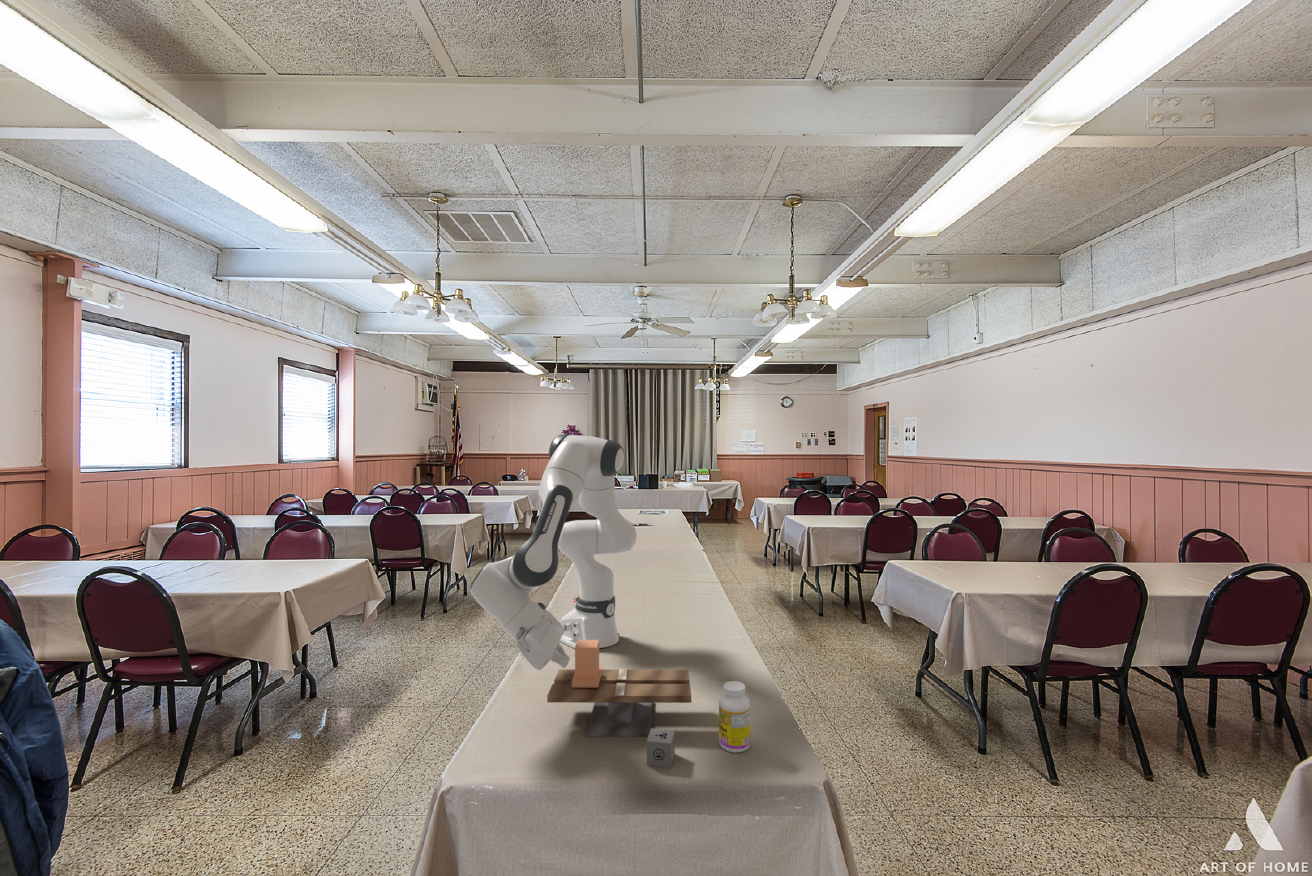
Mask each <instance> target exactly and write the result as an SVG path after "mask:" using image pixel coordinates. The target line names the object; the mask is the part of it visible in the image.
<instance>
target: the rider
mask: <svg viewBox="0 0 1312 876" xmlns="http://www.w3.org/2000/svg"><path fill="white" fill-rule="evenodd" d="M574 670H575V674H574V677H573V679H572V687H599V683H600V679H601V675H602V670H603V666H600V648H599V640H578V642H577V644H576V646H575V648H574Z"/></svg>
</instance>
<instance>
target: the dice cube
mask: <svg viewBox="0 0 1312 876" xmlns="http://www.w3.org/2000/svg"><path fill="white" fill-rule="evenodd" d="M675 735H676V731H675V730H674V729H664V728H663V729H662V728H652V727H651V730H650V733H649V736H648V737H647V739H646V766H647V765H648V766H647V767H657V768H665V769H666V768H667V769H668V768H669V769H672V766H673V763H674V759H675V755H676V750H675V749H676V746H675V744H676V743H675V742H676V741H675V740H676V738H675V737H676V736H675Z"/></svg>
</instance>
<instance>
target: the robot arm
mask: <svg viewBox="0 0 1312 876" xmlns="http://www.w3.org/2000/svg"><path fill="white" fill-rule="evenodd" d="M624 452H625V451H624V448H623V447H622V445H621V444H620V442H617V441H615V440H613V439H609V440H608V439H605V438H601V437H596V436H593V435H592V436H591V435H580V434H579V435H577V434H570V433H563V434H558V435H557V436H555V437H554V438H553V439H552V441H551V442H550V445H549V450H548V458H549V460H548V463H547V465H546V467H545V469H544V471H543V474H542V477H541V480H540V484H539V488H538V492H537V494H538V498H539V500H540V502H541V503H542V507H541V510H540V513H539V516H538V519H537V521H536V524H535V526H534V528H533V532H532V534H531V536H530V537H529V538H528V540H526V541H525V542H524V543H522V545H521V546H520V547H519V548H518V549H517V550H516V552H515V554H514V555H512V556H510V557H507V558H505V559H502V560H498V561H494V562H487V563H486V564H484V565H483V566H482V568H480V570H479V571H478V572H477V574H476V575H475V577H474V578H473V580H472V581H471V582H470V587H469V588H470V593H471V596H472V597H473V598H474V600H475V601H476V603H478V604H479V606H480V607H481V608H482V609H483V610H484V611H485V612H486V613H487V614H488V615H489V616H491V617H493V618H495V620H496V621H498V624H499V625H500V627H501V628H502V629H503V630H504V632H506V633H507V634H508V635H509V636H510V637H511V638H512V639H513V640H514V641H515V642H516V643H517V648H518V651H519V653H521V655H522V656H523V657H524V658H525V659H526V661H527V662H528V663H529V664H530V665H531V666H532V667H533V669H535V670H537V671H541V670H542V669H543V668H544V667H546V666H547V664H548V663H549V662H550V661H552V662H554V663H556V664H558V665H559V666H560V667H561V668H563V669H566V667H567V666H568V664H569V662H570V659H571V657H570V656H569V655H568V654H567V653H566V651H565V648H564V647H563V646H562V645H561V644H560V643H562V644H563V645H566V646H568V647H571V648H573V649H575V646H576V644H577V642H578V640H599V649H601V648H602V649H603V648H608V647H612V646H614V645H616V644H617V643H618V642H619V641H620V637H619V634H618V629H617V628H618V627H617V624H616V615H615V611H616V596H615V594H614V593H615V591H614V590H615V589H614V587H615V585H614V584H615V579H614V578H615V577H614V571H612V569H611V568H610V567H608V566H607V565H605V564H603V563H600V562H598V561H597V560H596V559H595V557H594V556H596V555H611V554H612V555H613V554H614V555H615V554H620V553H625V552H629V551H631V550H632V549H633V548H634V546H635V544H636V541H637V531H636V527H635V526H634V524H633V523H632V522H631V521H629V520H628V519H626V518H625V517H624V516H623V515H622V513H620V511H619V510H618V507H617V504H616V492H615V491H616V486H615V485H616V484H615V483H616V479H615V478H616V476H615V475H617V474H618V473H620V471H621V469H622V466H623V465H624V460H625V459H624V458H625V453H624ZM577 502H578V504H579V506H580V508H581V509H582V510H583V511H584V512H585V513H586V514H588V515H590V516H592V517H594V518H596V519H582V520H581V519H578V520H577V519H575V520H570V521H567V522H566V520H567V517H568V514H569V513H570V511H571V509H573V507H574V505H575V504H576V503H577ZM558 549H559V551H560V552H561V553H563V554H564V555H565V556H566V557H568V559H569V560H570V561H571V562H572V563H573V564H574V567H575V568H576V572H577V576H578V588H579V589H578V591H579V595H578V597H575V598H573V599H572V600H573V601H572V603H575V606H574V608H573V609H571V610H570V611H569V612H567V613H566V614H565V615H564V616H563V617H562V618H561V619H560V621H559V620H558V618H556V617H555V616H554V614H552V613H551V611H549V610H547V605H546V604H545V603H544V602H542V601H537V602H536V601H533V600H532V599H531V598H530V597H529V593H530V592H533V591H535V590H536V589H539V587H541V586H542V585H545V584H547V583H549V582H550V581H551V580H552V579H553V578H554V576H555V575H556V574H557V571H558V566H559V553H558Z"/></svg>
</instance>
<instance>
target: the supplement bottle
mask: <svg viewBox="0 0 1312 876" xmlns="http://www.w3.org/2000/svg"><path fill="white" fill-rule="evenodd" d="M722 688H723V689H722V690H723V694H721V696H720V697H719V698H718V699H719V700H718V743H719V746H720V747H721V748H722V749H723V750H725V751H727V752H729V753H735V754H737V753H742V752H743V753H744V752H745V751H747V750H748V749H749V748H750V746H751V701H750V699H749V697H748V696H747V695H746V692H747V691H746V684H745V683H743V682H741V681H737V680H731V681H726V682H725V683H723V687H722Z"/></svg>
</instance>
